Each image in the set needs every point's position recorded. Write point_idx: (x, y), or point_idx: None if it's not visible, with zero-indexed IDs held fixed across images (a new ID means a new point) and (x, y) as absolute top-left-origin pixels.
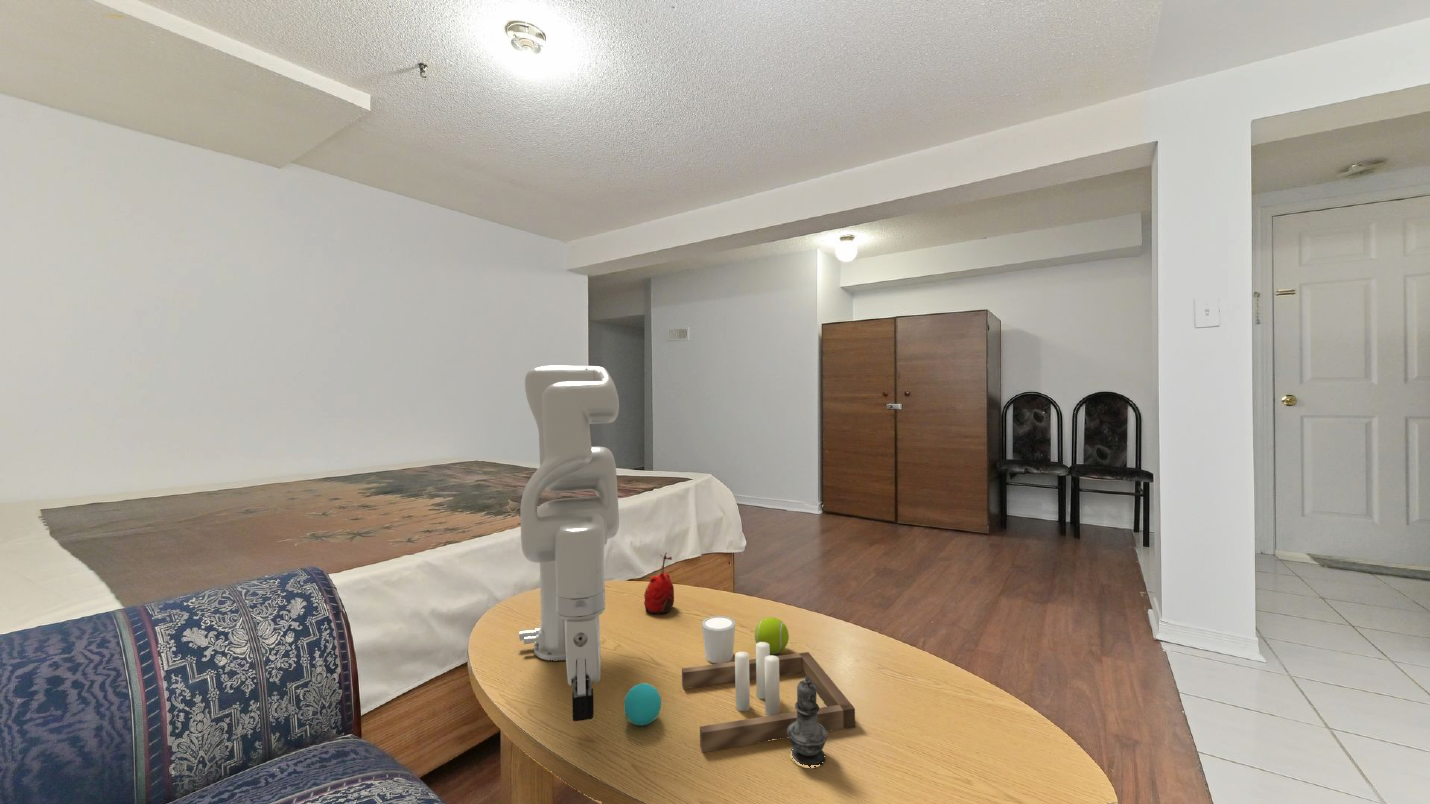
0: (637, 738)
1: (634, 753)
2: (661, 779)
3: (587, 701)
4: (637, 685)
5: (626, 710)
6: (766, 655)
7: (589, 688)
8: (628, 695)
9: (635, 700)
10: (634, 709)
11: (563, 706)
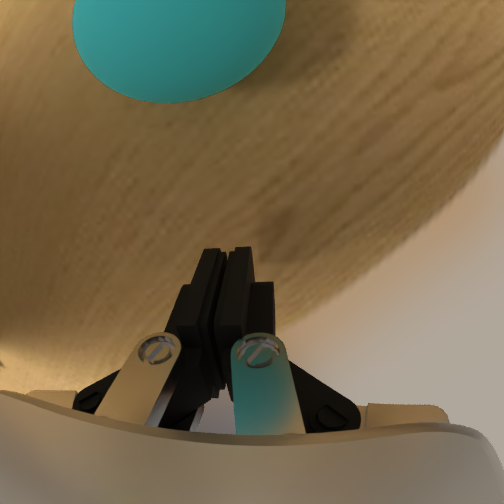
0: (305, 47)
1: (389, 69)
2: (493, 31)
3: (272, 328)
4: (113, 15)
5: (231, 84)
6: None
7: (295, 390)
8: (177, 70)
9: (250, 19)
10: (272, 36)
11: (103, 311)
